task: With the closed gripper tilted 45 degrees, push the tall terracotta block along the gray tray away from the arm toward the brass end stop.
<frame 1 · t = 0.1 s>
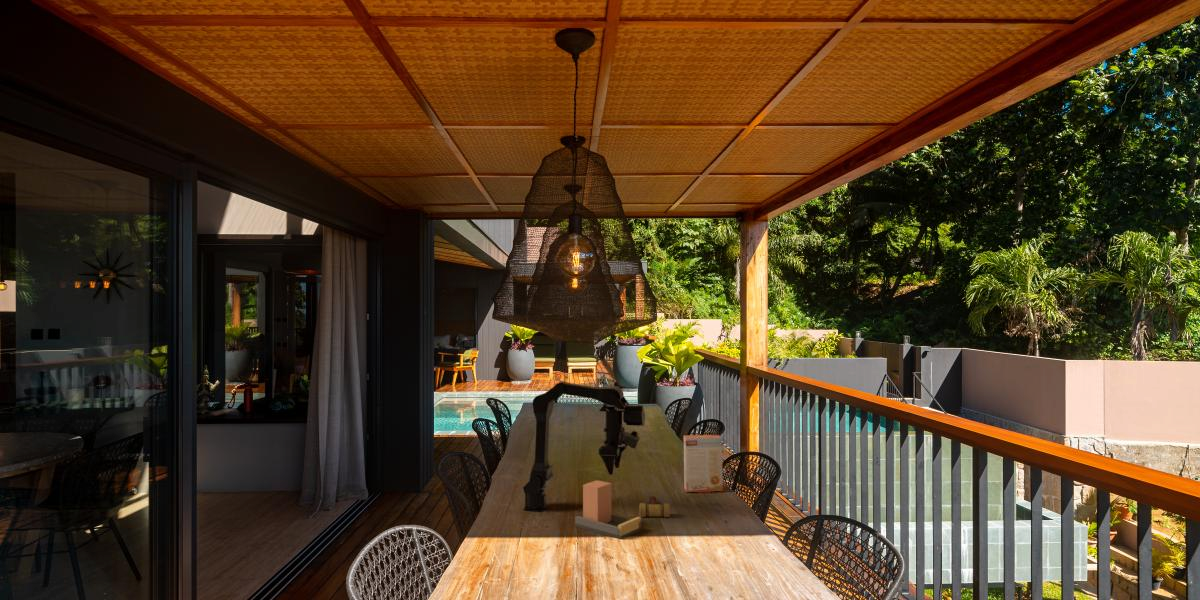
hand: (614, 471, 218), 15 cm above the table, tool pointing down, fingers open, 9 cm apart
block: (597, 502, 207), point 7 cm above the table, slide at 0.0 cm
gray tray: (607, 528, 204), on the table
gavel: (653, 510, 225), on the table
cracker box: (702, 491, 247), on the table
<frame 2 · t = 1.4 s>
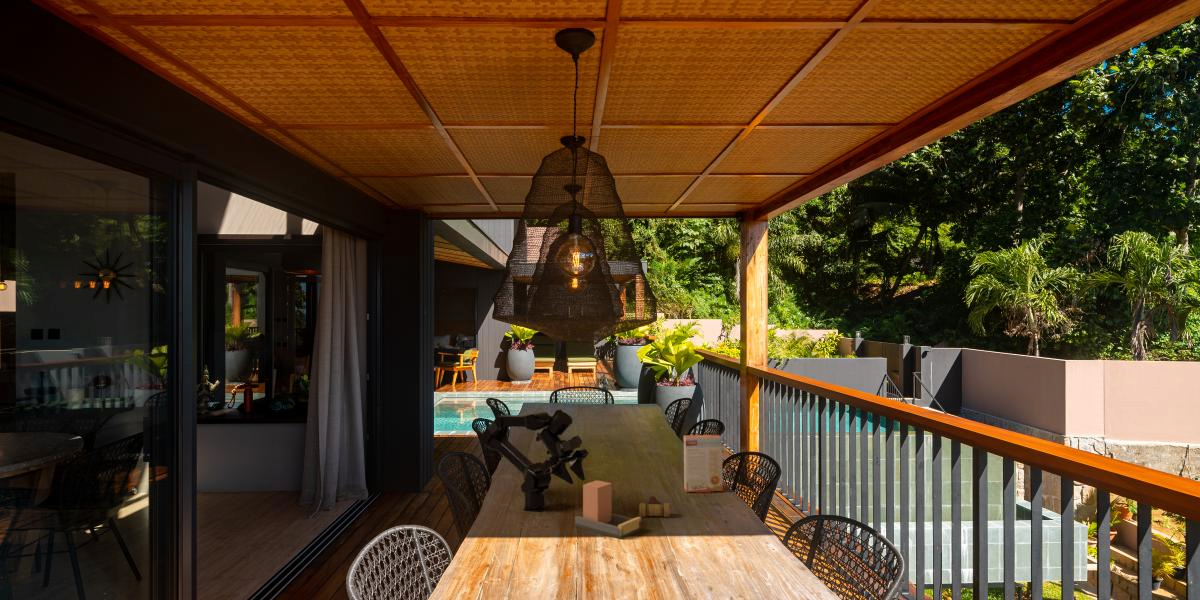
hand: (578, 481, 212), 13 cm above the table, tool tilted 45°, fingers open, 5 cm apart
nothing on the table moved.
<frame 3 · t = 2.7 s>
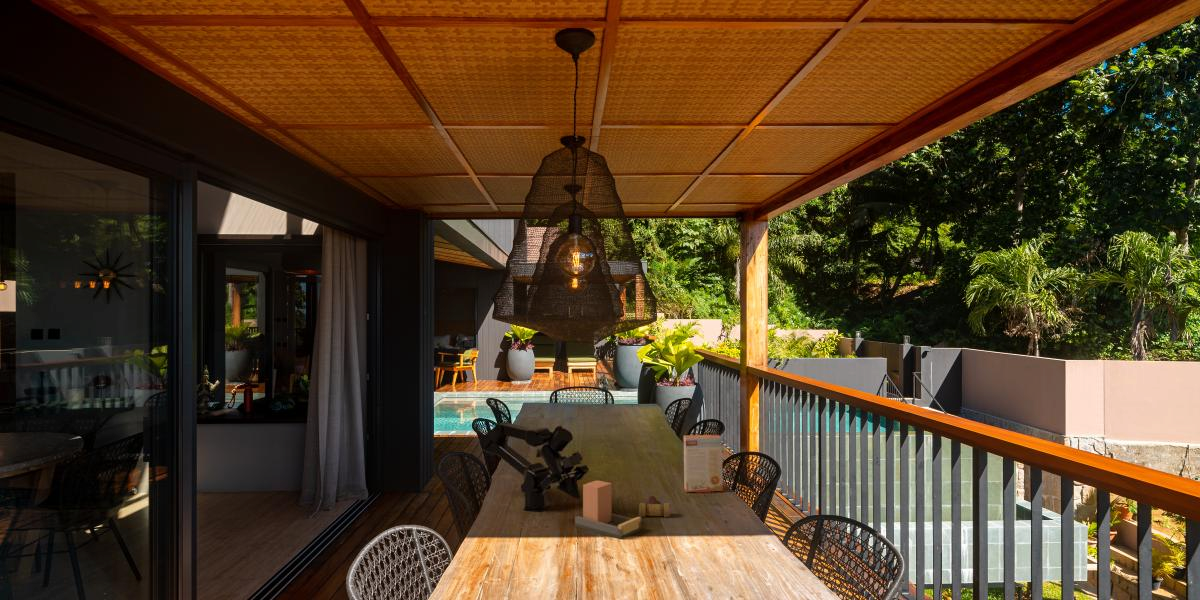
hand: (578, 498, 212), 7 cm above the table, tool tilted 45°, fingers closed
nothing on the table moved.
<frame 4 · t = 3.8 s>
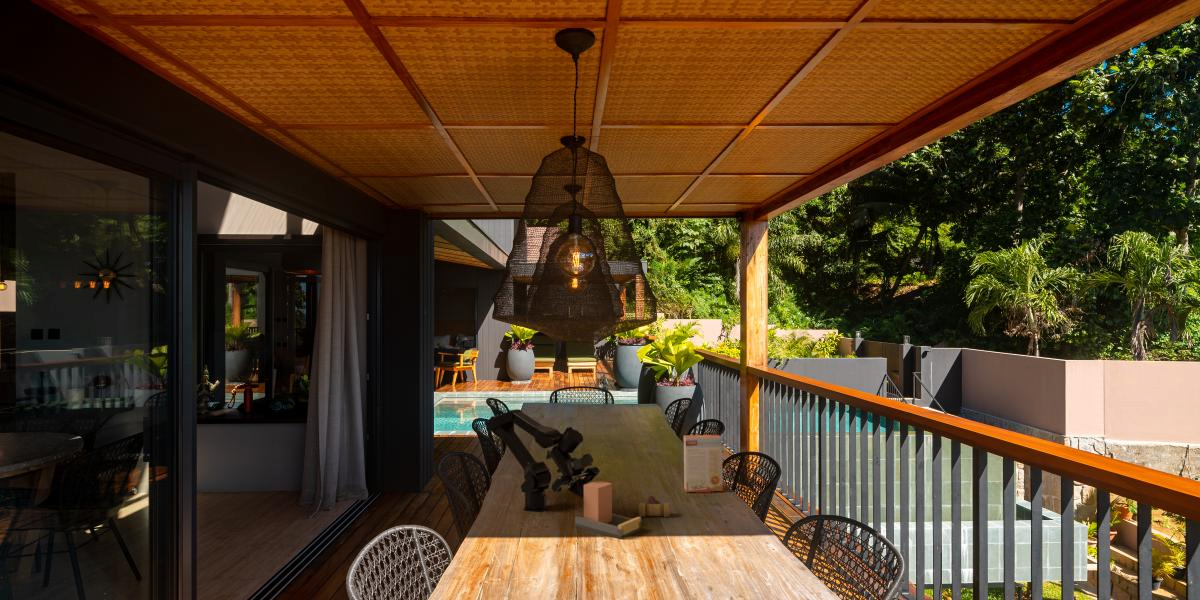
hand: (590, 500, 209), 7 cm above the table, tool tilted 45°, fingers closed, pressing on block
block: (597, 503, 207), point 7 cm above the table, slide at 0.2 cm, touching gripper
everything else where it was.
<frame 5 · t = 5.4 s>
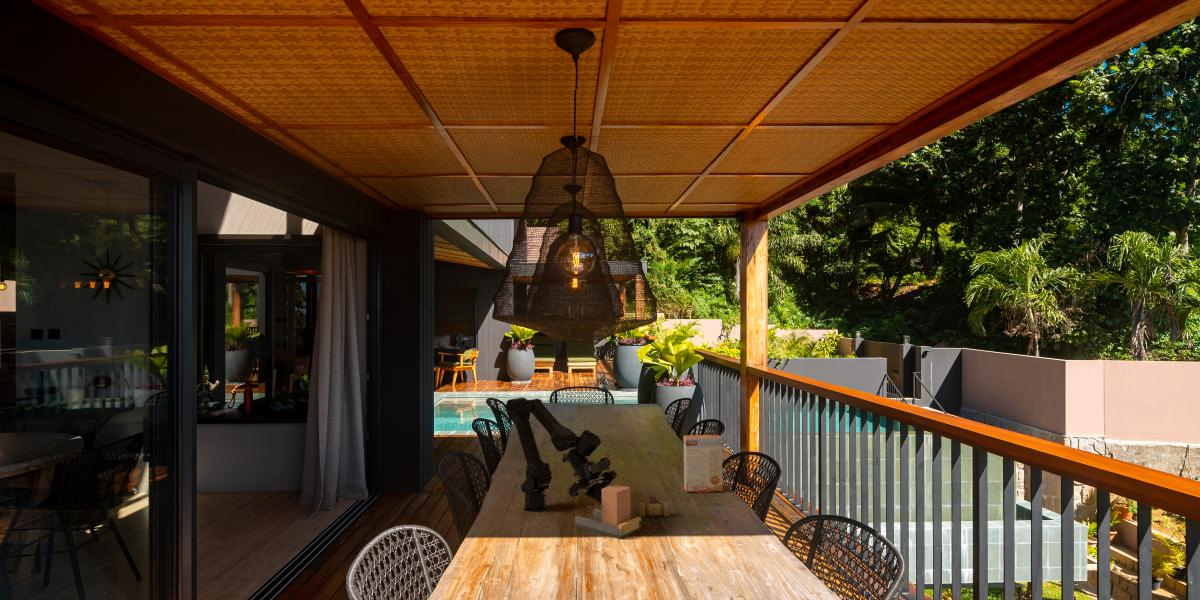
hand: (607, 505, 204), 7 cm above the table, tool tilted 45°, fingers closed, pressing on block
block: (616, 507, 202), point 7 cm above the table, slide at 7.6 cm, touching gripper
everything else where it was.
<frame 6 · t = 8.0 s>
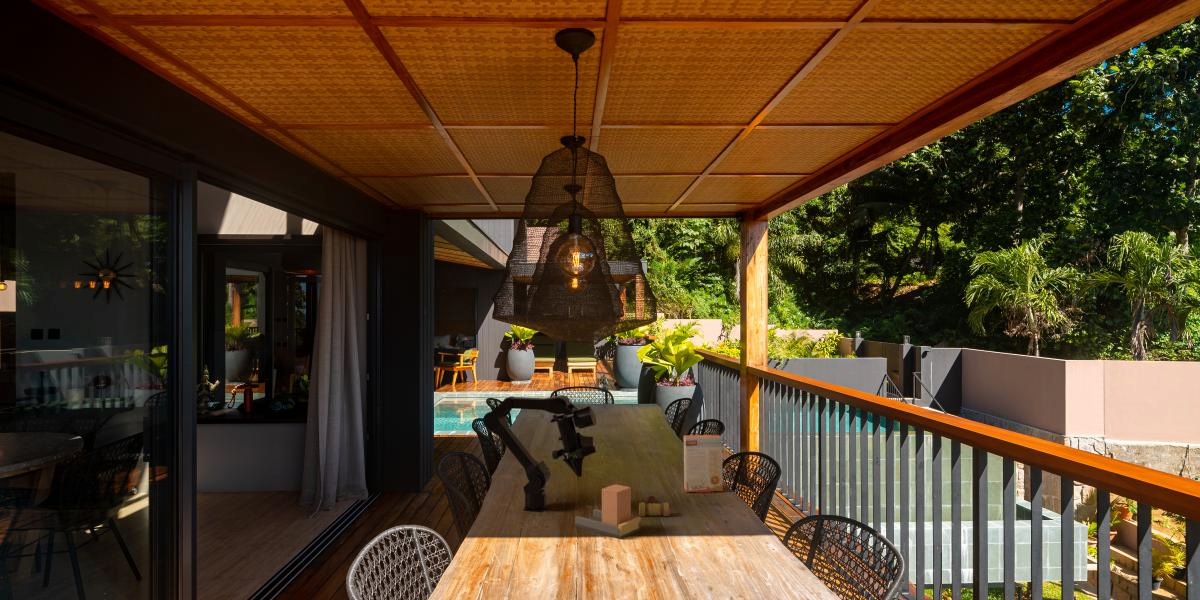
hand: (579, 476, 222), 12 cm above the table, tool tilted 15°, fingers closed
block: (616, 507, 202), point 7 cm above the table, slide at 7.7 cm
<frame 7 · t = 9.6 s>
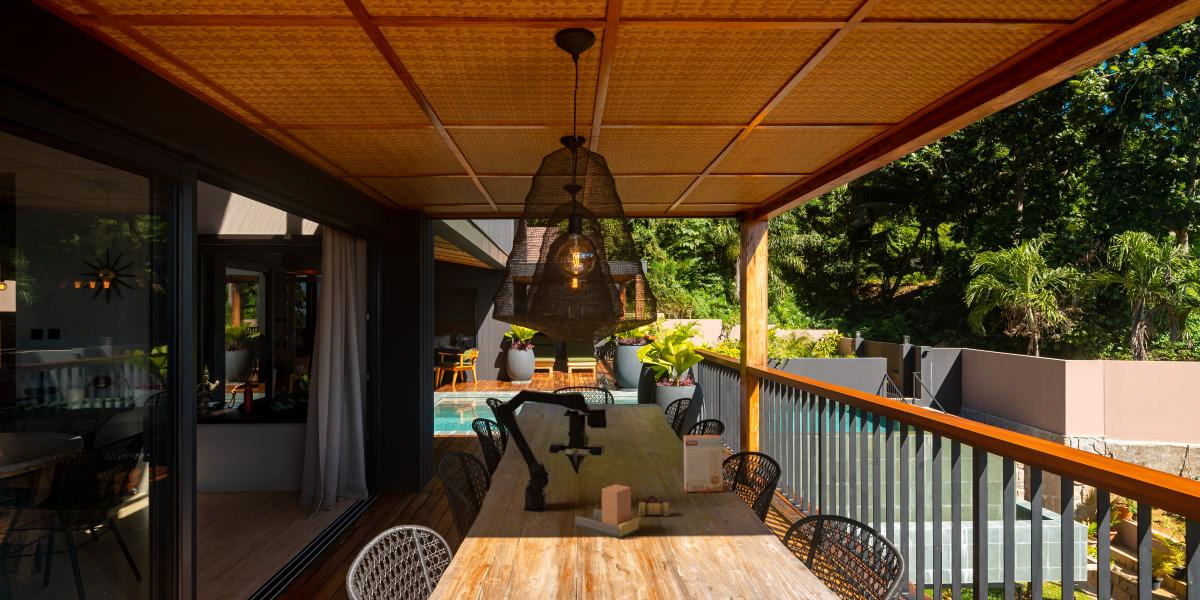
hand: (577, 473, 225), 12 cm above the table, tool pointing down, fingers closed
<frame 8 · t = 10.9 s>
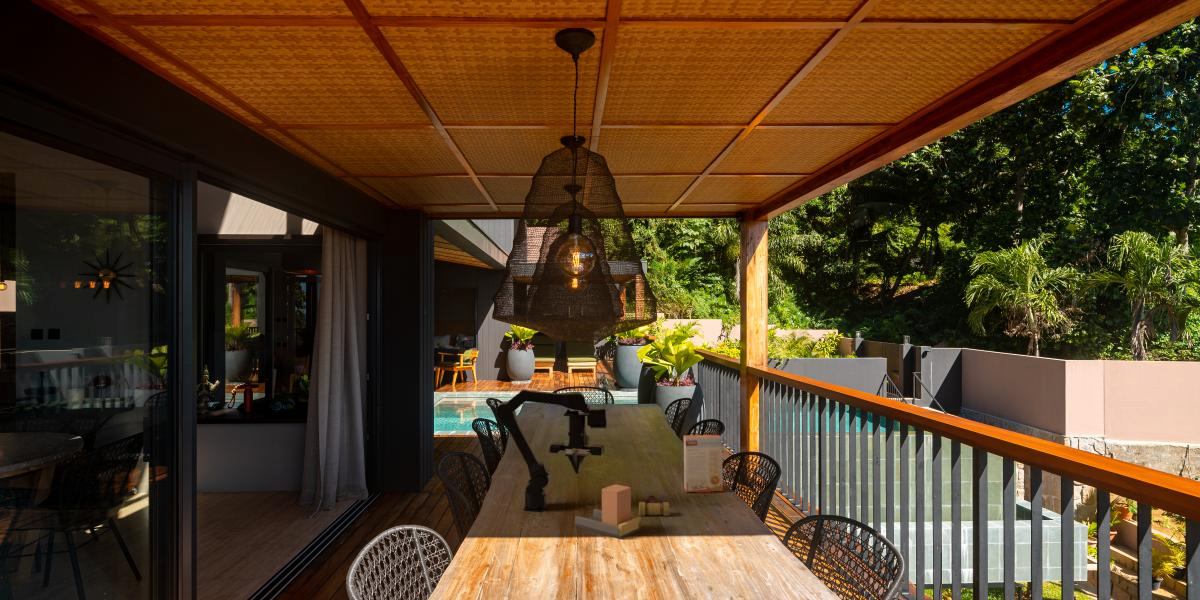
hand: (577, 473, 225), 12 cm above the table, tool pointing down, fingers closed
at the end: block slide at 7.7 cm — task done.
